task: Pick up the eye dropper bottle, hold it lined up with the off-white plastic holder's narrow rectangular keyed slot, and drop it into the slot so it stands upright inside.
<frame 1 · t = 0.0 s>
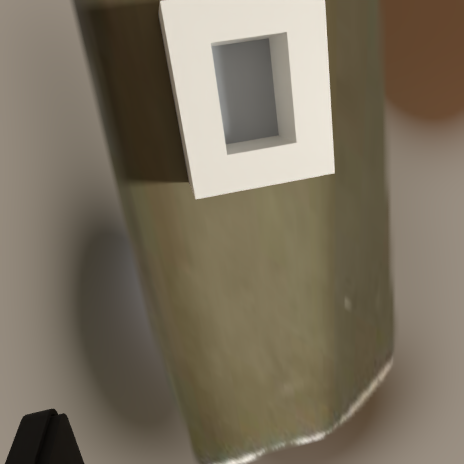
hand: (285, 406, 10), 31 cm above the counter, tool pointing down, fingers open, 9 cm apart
keyed holder: (240, 93, 37), on the counter
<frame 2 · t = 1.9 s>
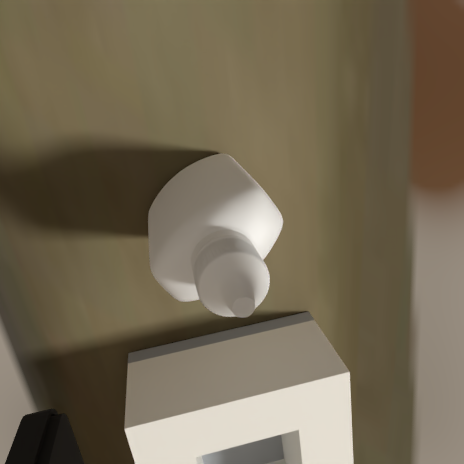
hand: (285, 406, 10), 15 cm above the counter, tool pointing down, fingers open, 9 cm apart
eye dropper bottle: (196, 195, 24), on the counter
keyed holder: (235, 415, 30), on the counter
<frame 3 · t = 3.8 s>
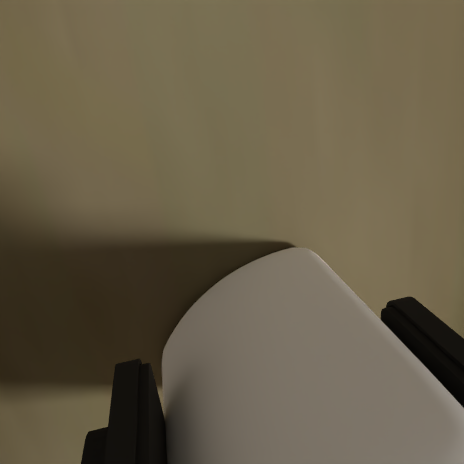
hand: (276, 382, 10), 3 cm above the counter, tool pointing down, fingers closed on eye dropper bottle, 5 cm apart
eye dropper bottle: (247, 314, 13), on the counter, touching gripper
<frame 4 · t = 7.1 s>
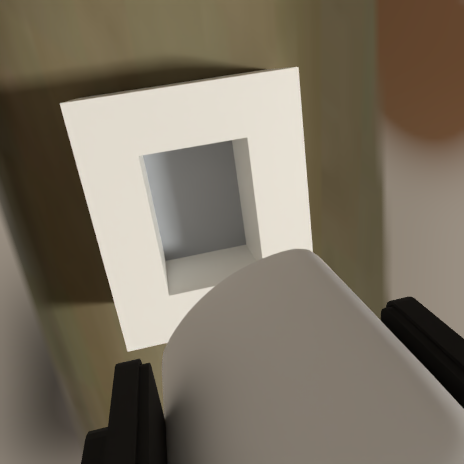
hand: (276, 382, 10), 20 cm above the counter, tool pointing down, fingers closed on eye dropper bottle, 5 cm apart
eye dropper bottle: (248, 315, 13), point 16 cm above the counter, touching gripper
keyed holder: (195, 192, 29), on the counter
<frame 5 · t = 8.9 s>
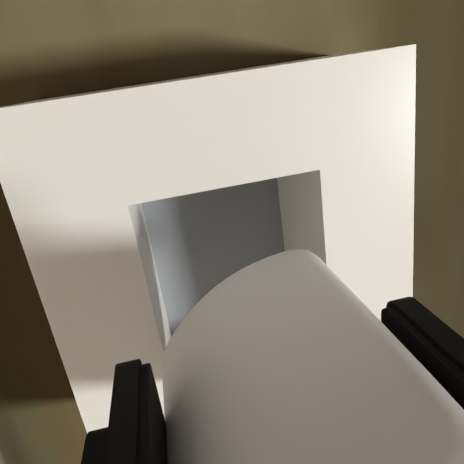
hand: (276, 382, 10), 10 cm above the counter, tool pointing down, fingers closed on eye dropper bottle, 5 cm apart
eye dropper bottle: (248, 316, 13), point 6 cm above the counter, touching gripper
keyed holder: (216, 241, 19), on the counter
when the fingers open (9 cm above the counter, at t = 10.5 s): eye dropper bottle stays where it is, resting on keyed holder.
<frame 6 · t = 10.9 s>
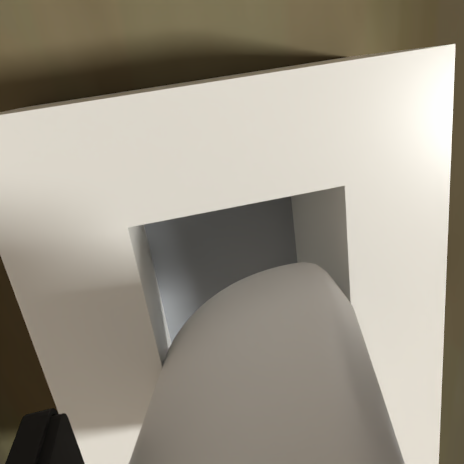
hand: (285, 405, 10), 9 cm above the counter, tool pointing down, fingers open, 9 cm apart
eye dropper bottle: (257, 323, 13), point 5 cm above the counter, touching gripper, keyed holder
keyed holder: (224, 258, 18), on the counter
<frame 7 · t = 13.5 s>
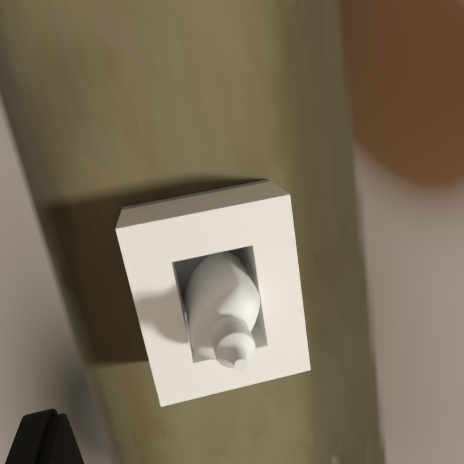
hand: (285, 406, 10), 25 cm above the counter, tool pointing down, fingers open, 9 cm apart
eye dropper bottle: (211, 278, 35), point 1 cm above the counter, touching keyed holder
keyed holder: (211, 273, 36), on the counter
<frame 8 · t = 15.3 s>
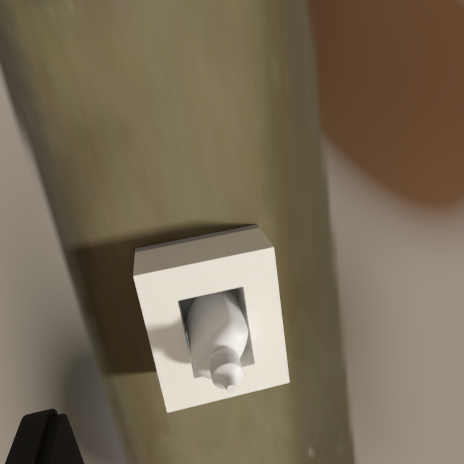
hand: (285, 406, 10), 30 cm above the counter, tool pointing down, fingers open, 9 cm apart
eye dropper bottle: (208, 305, 42), point 1 cm above the counter, touching keyed holder
keyed holder: (209, 300, 43), on the counter
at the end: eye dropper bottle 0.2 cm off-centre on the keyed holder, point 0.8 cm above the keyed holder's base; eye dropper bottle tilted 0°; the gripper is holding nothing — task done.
